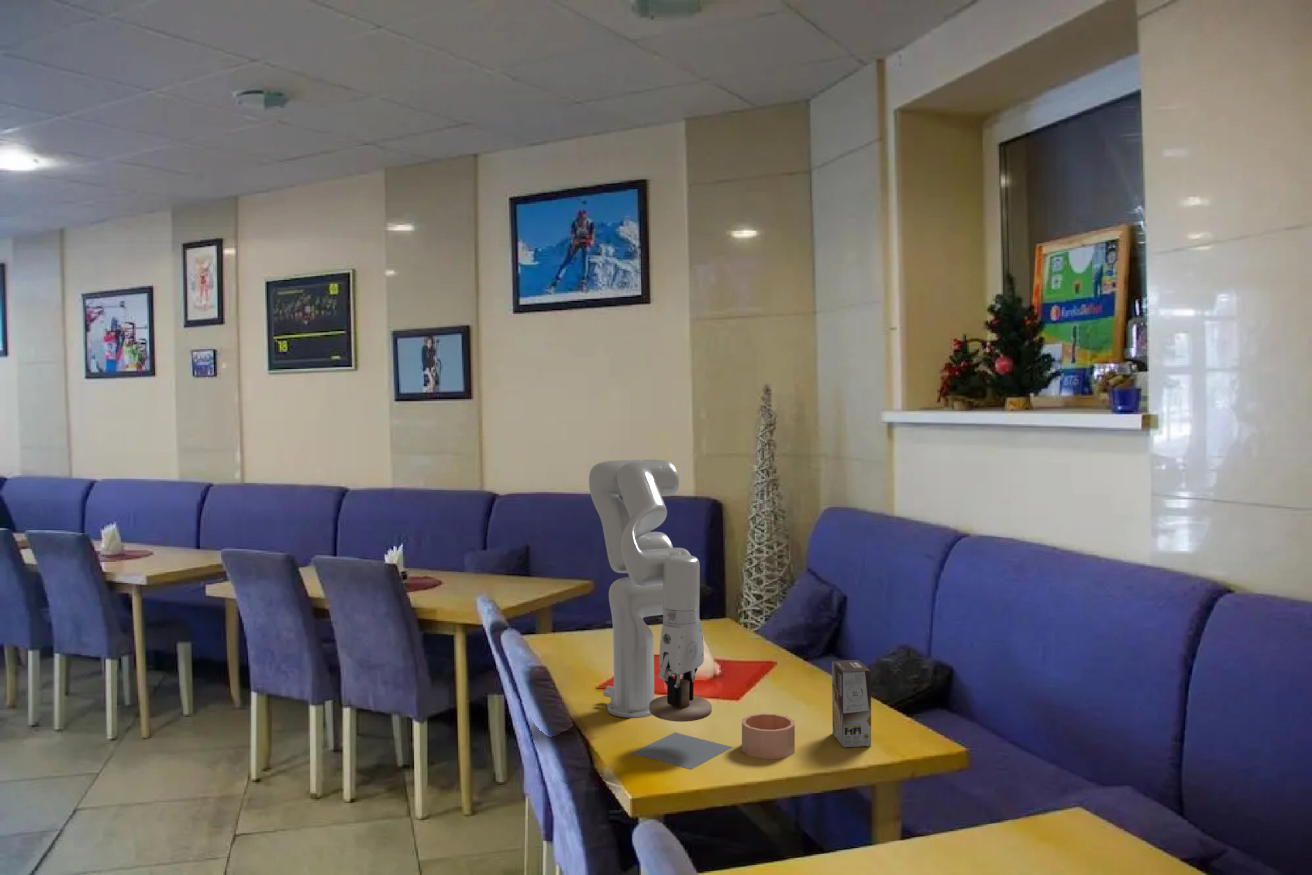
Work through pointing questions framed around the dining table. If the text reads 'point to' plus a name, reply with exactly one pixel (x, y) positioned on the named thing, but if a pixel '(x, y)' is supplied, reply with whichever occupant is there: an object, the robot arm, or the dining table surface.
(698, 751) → the mat
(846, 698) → the coffee box
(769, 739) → the bowl
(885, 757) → the dining table surface
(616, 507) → the robot arm
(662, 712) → the lid
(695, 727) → the dining table surface
